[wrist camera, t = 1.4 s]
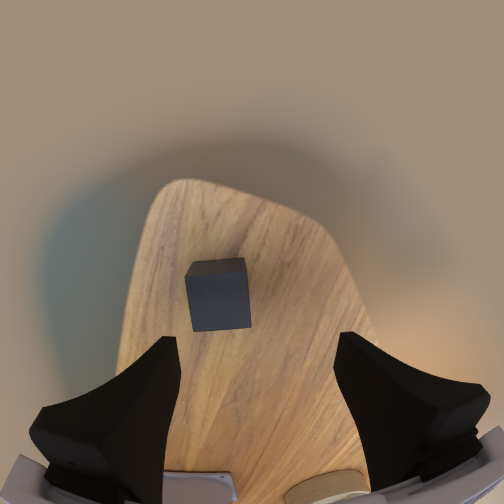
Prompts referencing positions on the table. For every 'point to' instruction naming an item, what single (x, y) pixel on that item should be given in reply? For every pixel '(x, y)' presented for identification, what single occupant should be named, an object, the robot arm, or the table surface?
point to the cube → (218, 295)
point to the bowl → (328, 488)
